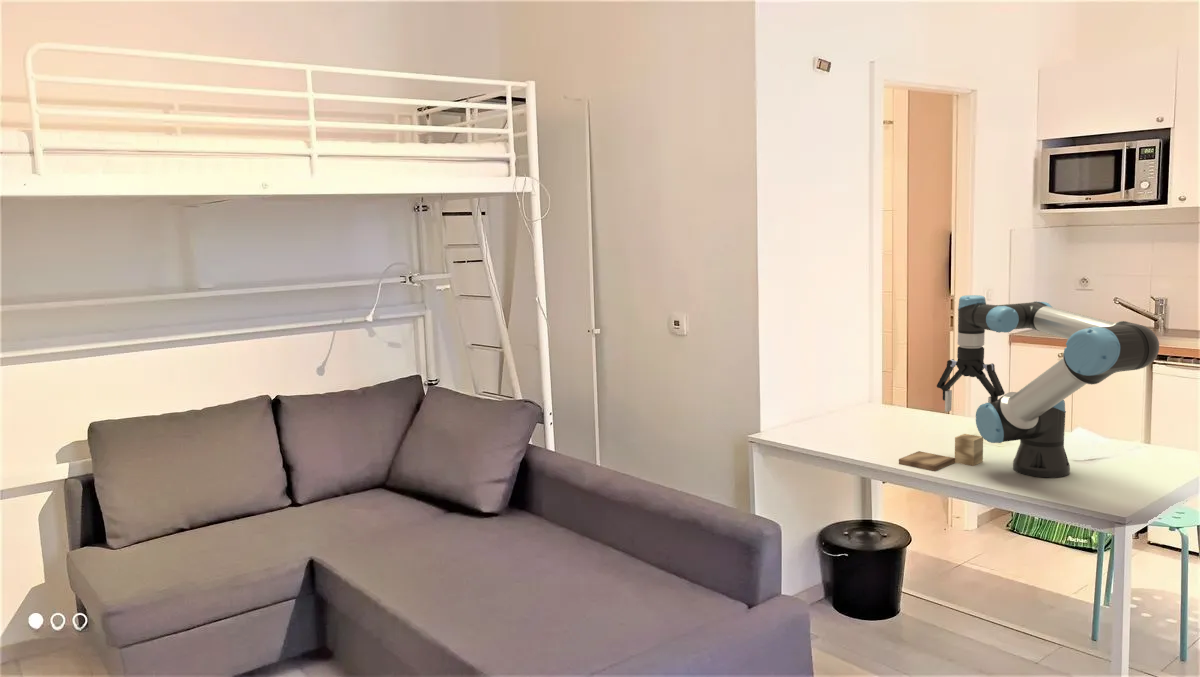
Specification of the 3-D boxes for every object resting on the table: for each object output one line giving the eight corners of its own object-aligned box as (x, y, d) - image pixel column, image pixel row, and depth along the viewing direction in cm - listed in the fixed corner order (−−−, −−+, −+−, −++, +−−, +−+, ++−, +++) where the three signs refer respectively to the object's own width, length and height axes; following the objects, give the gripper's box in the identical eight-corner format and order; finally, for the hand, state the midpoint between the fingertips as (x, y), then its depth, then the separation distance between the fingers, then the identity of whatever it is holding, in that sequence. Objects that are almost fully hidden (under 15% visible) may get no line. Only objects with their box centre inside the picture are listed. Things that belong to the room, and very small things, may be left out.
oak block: (982, 461, 273) (983, 436, 272) (973, 466, 269) (973, 440, 268) (963, 458, 277) (964, 433, 276) (954, 462, 274) (955, 437, 272)
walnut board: (954, 462, 273) (954, 457, 273) (935, 471, 265) (935, 466, 265) (918, 455, 282) (918, 450, 282) (898, 463, 274) (898, 458, 274)
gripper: (1017, 348, 261) (1015, 418, 264) (938, 341, 280) (937, 406, 283) (1006, 351, 256) (1004, 422, 260) (926, 344, 275) (925, 410, 278)
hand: (969, 414), depth 271 cm, fingers open, 13 cm apart
